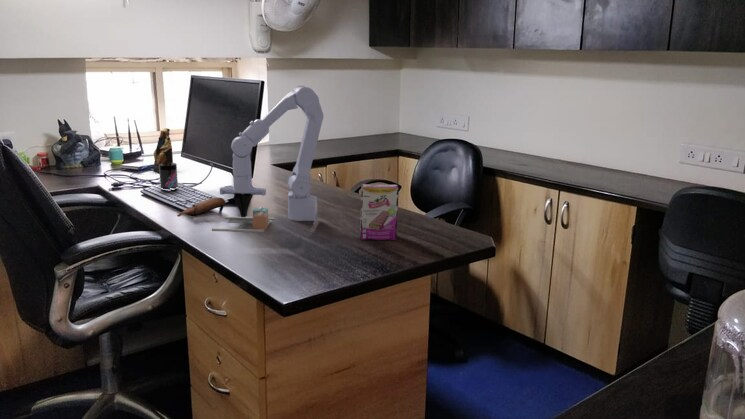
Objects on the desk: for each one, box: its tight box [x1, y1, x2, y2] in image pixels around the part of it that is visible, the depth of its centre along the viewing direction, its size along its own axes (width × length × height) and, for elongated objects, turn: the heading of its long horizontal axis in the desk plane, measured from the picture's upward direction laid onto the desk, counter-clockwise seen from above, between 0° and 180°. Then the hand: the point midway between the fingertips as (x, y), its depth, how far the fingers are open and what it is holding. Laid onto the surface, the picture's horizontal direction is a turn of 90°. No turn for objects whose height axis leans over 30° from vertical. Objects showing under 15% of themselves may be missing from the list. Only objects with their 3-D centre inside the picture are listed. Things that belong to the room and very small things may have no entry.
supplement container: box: [159, 162, 179, 189], centre depth 246 cm, size 7×7×10 cm
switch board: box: [211, 215, 275, 233], centre depth 195 cm, size 16×15×2 cm
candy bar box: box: [359, 183, 399, 241], centre depth 185 cm, size 11×5×16 cm, turn 92°
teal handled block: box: [252, 206, 269, 216], centre depth 198 cm, size 4×4×5 cm
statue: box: [152, 127, 174, 174], centre depth 281 cm, size 12×8×20 cm, turn 37°
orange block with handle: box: [252, 212, 270, 230], centre depth 191 cm, size 4×4×5 cm
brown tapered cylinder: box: [177, 197, 227, 217], centre depth 214 cm, size 18×7×7 cm
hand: (244, 216), depth 198 cm, fingers closed
